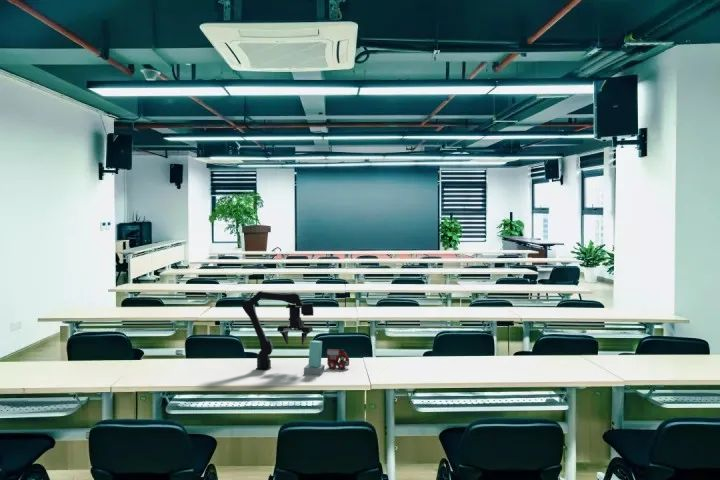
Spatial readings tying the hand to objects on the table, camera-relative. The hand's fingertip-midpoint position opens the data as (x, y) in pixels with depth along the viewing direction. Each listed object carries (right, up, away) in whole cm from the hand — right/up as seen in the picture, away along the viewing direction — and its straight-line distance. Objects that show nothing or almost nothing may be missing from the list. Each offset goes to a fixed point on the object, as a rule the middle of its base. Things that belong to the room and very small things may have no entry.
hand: (295, 344), depth 342 cm
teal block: (+11, -10, -11) cm, 18 cm away
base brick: (+11, -14, -10) cm, 21 cm away
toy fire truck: (+23, -14, +2) cm, 27 cm away
